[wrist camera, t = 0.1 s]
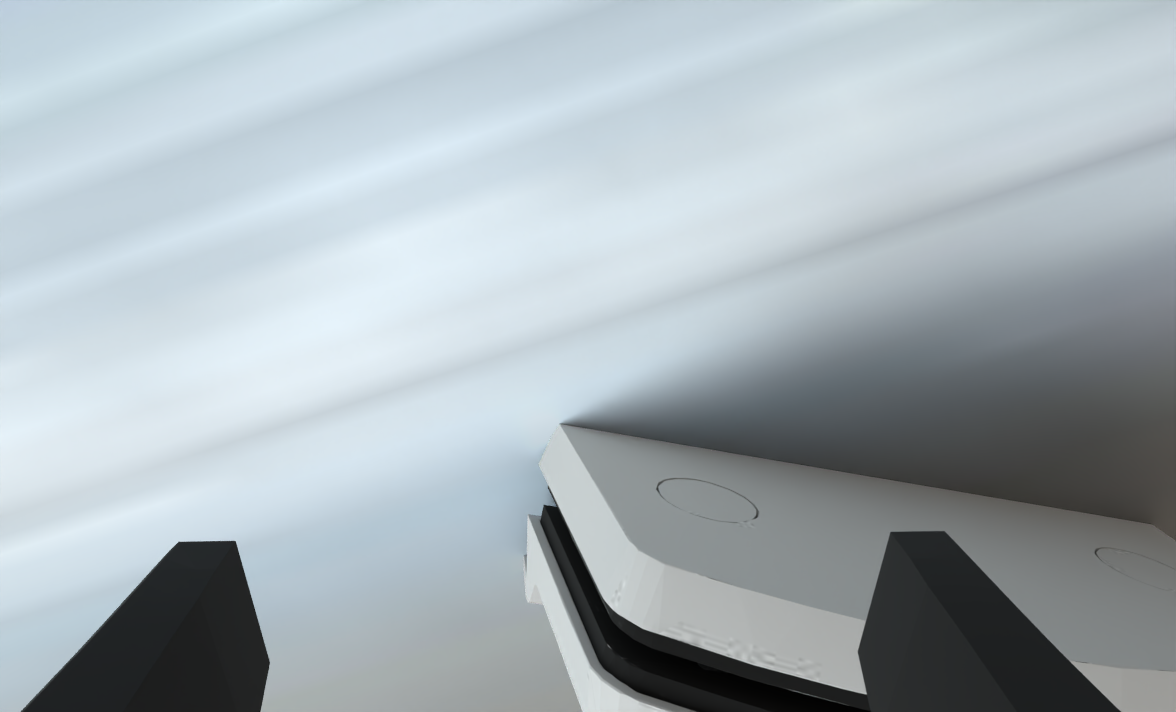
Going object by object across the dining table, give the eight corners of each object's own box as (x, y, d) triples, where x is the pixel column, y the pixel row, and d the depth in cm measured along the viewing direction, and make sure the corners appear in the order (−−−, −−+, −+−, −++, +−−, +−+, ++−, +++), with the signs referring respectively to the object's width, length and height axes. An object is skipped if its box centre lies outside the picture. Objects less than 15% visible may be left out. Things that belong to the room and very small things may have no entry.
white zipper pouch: (508, 567, 24) (524, 861, 15) (543, 400, 23) (586, 600, 14) (1064, 647, 27) (1386, 940, 17) (1120, 500, 26) (1494, 726, 16)
